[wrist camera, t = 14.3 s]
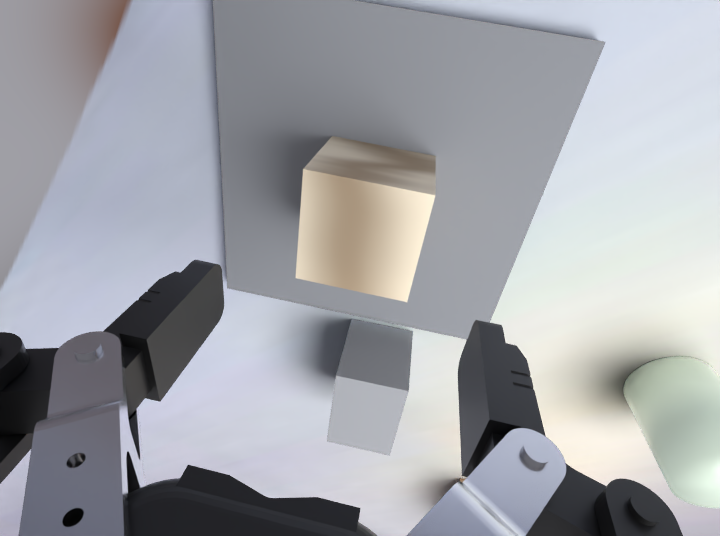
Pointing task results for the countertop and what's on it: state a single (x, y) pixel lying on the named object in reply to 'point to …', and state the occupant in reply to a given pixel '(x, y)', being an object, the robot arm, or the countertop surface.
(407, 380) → the dark grey block
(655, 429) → the sage cylinder
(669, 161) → the countertop surface
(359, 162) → the birch cube
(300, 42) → the charcoal mat
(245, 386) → the countertop surface
